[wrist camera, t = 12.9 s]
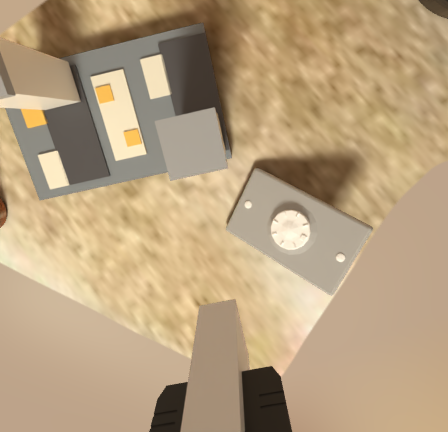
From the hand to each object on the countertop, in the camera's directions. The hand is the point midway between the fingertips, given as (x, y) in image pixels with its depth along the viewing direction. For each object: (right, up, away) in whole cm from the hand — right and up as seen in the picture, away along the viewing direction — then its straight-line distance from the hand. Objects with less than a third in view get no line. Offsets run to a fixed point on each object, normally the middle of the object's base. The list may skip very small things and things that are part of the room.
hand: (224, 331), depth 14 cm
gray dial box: (+8, +4, +28) cm, 30 cm away
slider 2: (-2, +13, +23) cm, 27 cm away
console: (-12, +16, +25) cm, 32 cm away
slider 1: (-18, +18, +22) cm, 34 cm away
